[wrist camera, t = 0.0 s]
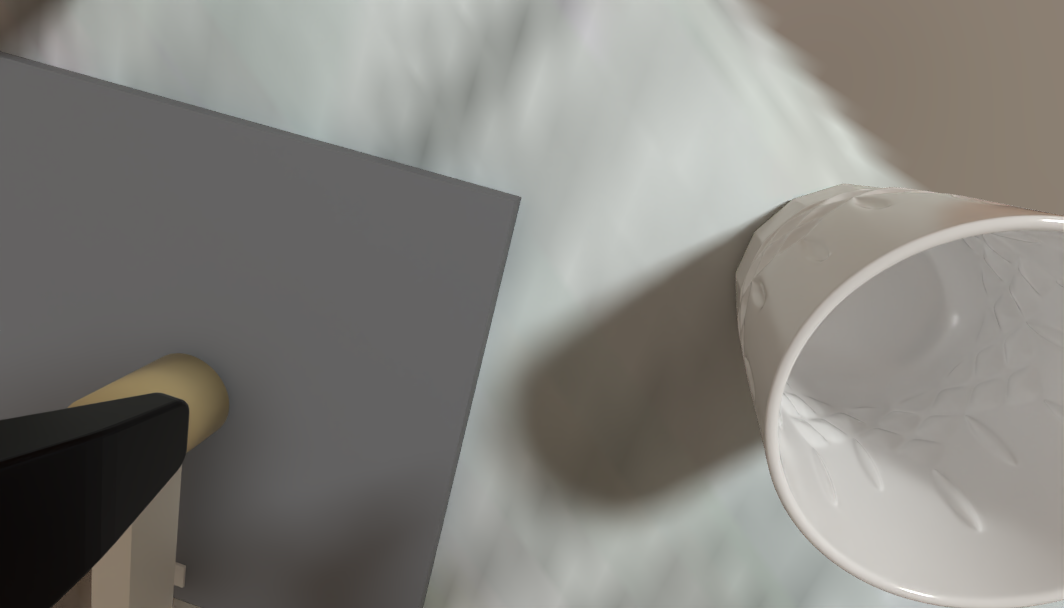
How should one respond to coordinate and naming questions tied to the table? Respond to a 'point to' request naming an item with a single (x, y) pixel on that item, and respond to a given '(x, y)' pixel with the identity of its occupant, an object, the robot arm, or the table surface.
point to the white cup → (914, 388)
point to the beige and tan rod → (150, 542)
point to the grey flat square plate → (254, 324)
